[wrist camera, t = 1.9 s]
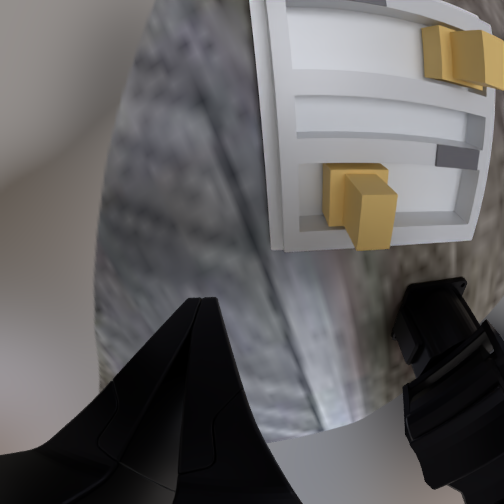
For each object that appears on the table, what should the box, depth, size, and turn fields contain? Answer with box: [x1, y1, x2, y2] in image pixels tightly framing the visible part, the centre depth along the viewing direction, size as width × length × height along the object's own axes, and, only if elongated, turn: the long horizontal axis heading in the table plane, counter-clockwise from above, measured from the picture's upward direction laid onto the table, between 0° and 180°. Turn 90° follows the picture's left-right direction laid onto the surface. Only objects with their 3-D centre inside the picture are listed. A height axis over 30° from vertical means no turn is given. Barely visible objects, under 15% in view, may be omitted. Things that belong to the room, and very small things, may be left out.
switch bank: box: [249, 0, 495, 253], centre depth 12 cm, size 14×16×3 cm
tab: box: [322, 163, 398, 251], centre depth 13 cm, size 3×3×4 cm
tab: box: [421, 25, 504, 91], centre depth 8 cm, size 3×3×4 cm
